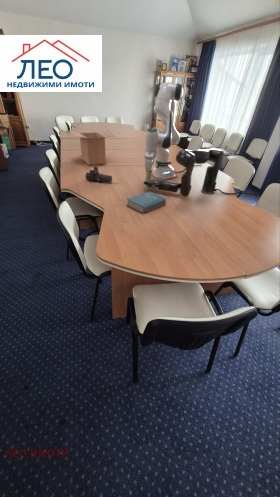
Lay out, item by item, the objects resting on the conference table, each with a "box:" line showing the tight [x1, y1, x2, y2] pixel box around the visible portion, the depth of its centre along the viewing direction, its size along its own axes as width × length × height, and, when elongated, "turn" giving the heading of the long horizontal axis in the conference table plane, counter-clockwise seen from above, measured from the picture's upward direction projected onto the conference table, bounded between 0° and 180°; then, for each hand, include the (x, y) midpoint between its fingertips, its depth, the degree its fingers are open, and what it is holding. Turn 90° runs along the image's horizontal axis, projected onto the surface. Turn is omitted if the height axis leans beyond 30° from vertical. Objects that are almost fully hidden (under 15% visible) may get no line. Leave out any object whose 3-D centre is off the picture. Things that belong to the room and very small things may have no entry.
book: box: [126, 190, 167, 214], centre depth 156 cm, size 23×16×5 cm
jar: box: [144, 172, 153, 192], centre depth 176 cm, size 4×4×16 cm
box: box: [70, 129, 114, 166], centre depth 229 cm, size 44×36×27 cm
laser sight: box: [85, 166, 113, 184], centre depth 187 cm, size 10×22×10 cm, turn 78°
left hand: (149, 172), depth 172 cm, fingers open, 7 cm apart
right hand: (144, 181), depth 178 cm, fingers closed on jar, 4 cm apart
